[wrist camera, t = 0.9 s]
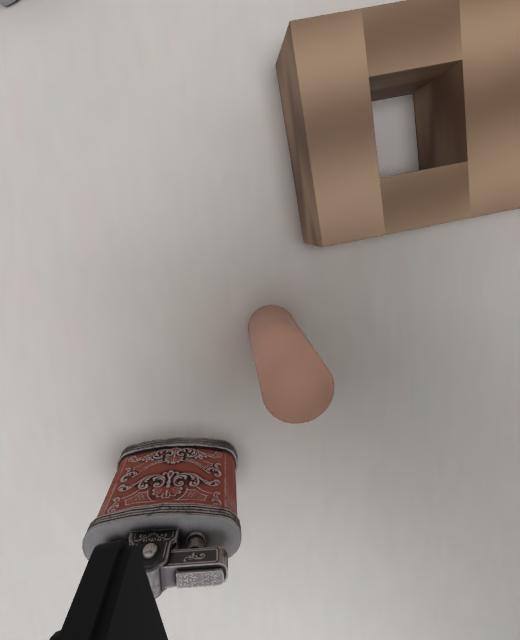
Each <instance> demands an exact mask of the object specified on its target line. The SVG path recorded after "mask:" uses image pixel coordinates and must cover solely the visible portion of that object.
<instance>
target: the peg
mask: <svg viewBox="0 0 520 640" xmlns="http://www.w3.org/2000/svg"><path fill="white" fill-rule="evenodd" d="M248 331H249V336H250V341H251V346H252V350H253V355H254V360H255V365H256V369H257V374H258V379H259V384H260V388H261V393H262V398H263V401H264V404H265V406H266V408H267V409H268V411H269V412H270V413H271V414H272V415H273V416H274V417H276V418H277V419H279V420H281V421H284V422H288V423H305V422H308V421H311V420H313V419H315V418H317V417H318V416H320V415H321V414H322V413H323V412H324V411H325V410H326V409H327V407H328V406H329V404H330V402H331V400H332V398H333V394H334V381H333V377H332V375H331V373H330V371H329V369H328V368H327V367H326V365H325V364H324V362H323V361H322V359H321V358H320V357H319V355H318V354H317V352H316V351H315V349H314V348H313V347H312V345H311V344H310V342H309V341H308V340H307V338H306V337H305V335H304V334H303V332H302V331H301V330H300V328H299V327H298V325H297V324H296V322H295V321H294V320H293V318H292V317H291V315H290V314H289V313H288V312H287V311H286V310H285V309H283V308H282V307H279V306H274V305H269V306H264V307H262V308H260V309H258V310H257V311H256V312H255V313H254V314H253V315H252V317H251V319H250V321H249V325H248Z"/></svg>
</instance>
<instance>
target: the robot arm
mask: <svg viewBox="0 0 520 640" xmlns="http://www.w3.org/2000/svg"><path fill="white" fill-rule="evenodd" d="M50 640H168V638H167V635H166V632H165V629H164V626H163V623H162V620H161V617H160V613H159V610H158V607H157V604H156V601H155V598H154V595H153V592H152V589H151V586H150V583H149V579H148V576H147V573H146V570H145V567H144V564H143V561H142V558H141V555H140V552H139V549H138V546H137V545H129V543H128V541H127V540H126V539H121V540H117V541H112V542H108V543H103V544H99V545H97V546H95V548H94V549H93V551H92V554H91V556H90V559H89V561H88V564H87V566H86V569H85V571H84V574H83V576H82V579H81V581H80V584H79V587H78V589H77V592H76V594H75V597H74V599H73V602H72V604H71V607H70V609H69V612H68V614H67V617H66V619H65V622H64V624H63V627H62V629H61V630H60V631H57V632H55V634H54V635H53V636H52V637H51V638H50Z"/></svg>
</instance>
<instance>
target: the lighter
mask: <svg viewBox="0 0 520 640" xmlns="http://www.w3.org/2000/svg"><path fill="white" fill-rule="evenodd" d="M237 465H238V462H237V453H236V450H235V448H234V446H233V445H231V444H230V443H229V442H226V441H221V440H214V439H206V438H170V439H160V440H153V441H148V442H144V443H139V444H134V445H131V446H129V447H127V448H126V449H125V450H124V451H123V452H122V454H121V457H120V459H119V461H118V463H117V472H116V475H115V477H114V479H113V481H112V484H111V486H110V488H109V491H108V493H107V495H106V497H105V500H104V502H103V504H102V507H101V509H100V511H99V514H98V516H97V518H96V519H94V520H93V521H92V522H91V524H90V526H89V528H88V530H87V532H86V535H85V537H84V539H83V546H82V549H83V552H84V555H85V557H86V558H87V559H88V560H89V559H90V556H91V554H92V551H93V549H94V548H95V546H97V545H99V544H103V543H108V542H112V541H117V540H121V539H126V540H127V541H128V543H129V545H137V546H138V549H139V552H140V555H141V558H142V561H143V564H144V567H145V570H146V573H147V576H148V579H149V583H150V586H151V589H152V592H153V595H154V598H157V597H159V596H160V595H161V593H162V592H163V591H164V590H166V589H167V588H172V587H177V588H189V587H202V586H216V585H221V584H223V582H225V581H226V580H227V578H228V558H229V557H231V556H232V555H233V554H234V553H235V552H237V550H238V548H239V546H240V543H241V526H240V520H239V519H238V517H237V499H236V475H235V472H236V470H237Z"/></svg>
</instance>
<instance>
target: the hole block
mask: <svg viewBox="0 0 520 640" xmlns="http://www.w3.org/2000/svg"><path fill="white" fill-rule="evenodd" d="M276 69H277V75H278V81H279V88H280V94H281V100H282V107H283V113H284V119H285V126H286V132H287V138H288V145H289V151H290V157H291V164H292V170H293V176H294V183H295V189H296V195H297V202H298V208H299V214H300V221H301V227H302V233H303V240H304V243H308V244H312V245H316V246H320V247H327V246H332V245H337V244H342V243H347V242H352V241H357V240H362V239H367V238H372V237H377V236H382V235H387V234H392V233H397V232H402V231H407V230H412V229H417V228H422V227H427V226H432V225H437V224H443V223H448V222H453V221H458V220H463V219H468V218H473V217H478V216H483V215H488V214H493V213H498V212H503V211H508V210H513V209H518V208H520V0H406V1H400V2H395V3H389V4H384V5H378V6H372V7H367V8H361V9H355V10H350V11H344V12H338V13H333V14H327V15H322V16H316V17H310V18H305V19H299V20H293V21H290V22H289V25H288V28H287V31H286V35H285V38H284V41H283V44H282V47H281V50H280V53H279V56H278V60H277V63H276ZM407 94H413V95H414V108H415V120H416V132H417V144H418V156H419V169H420V171H415V172H410V173H405V174H399V175H394V176H389V177H384V178H379V169H378V160H377V151H376V141H375V132H374V122H373V113H372V104H371V101H375V100H380V99H386V98H391V97H397V96H402V95H407Z"/></svg>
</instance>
